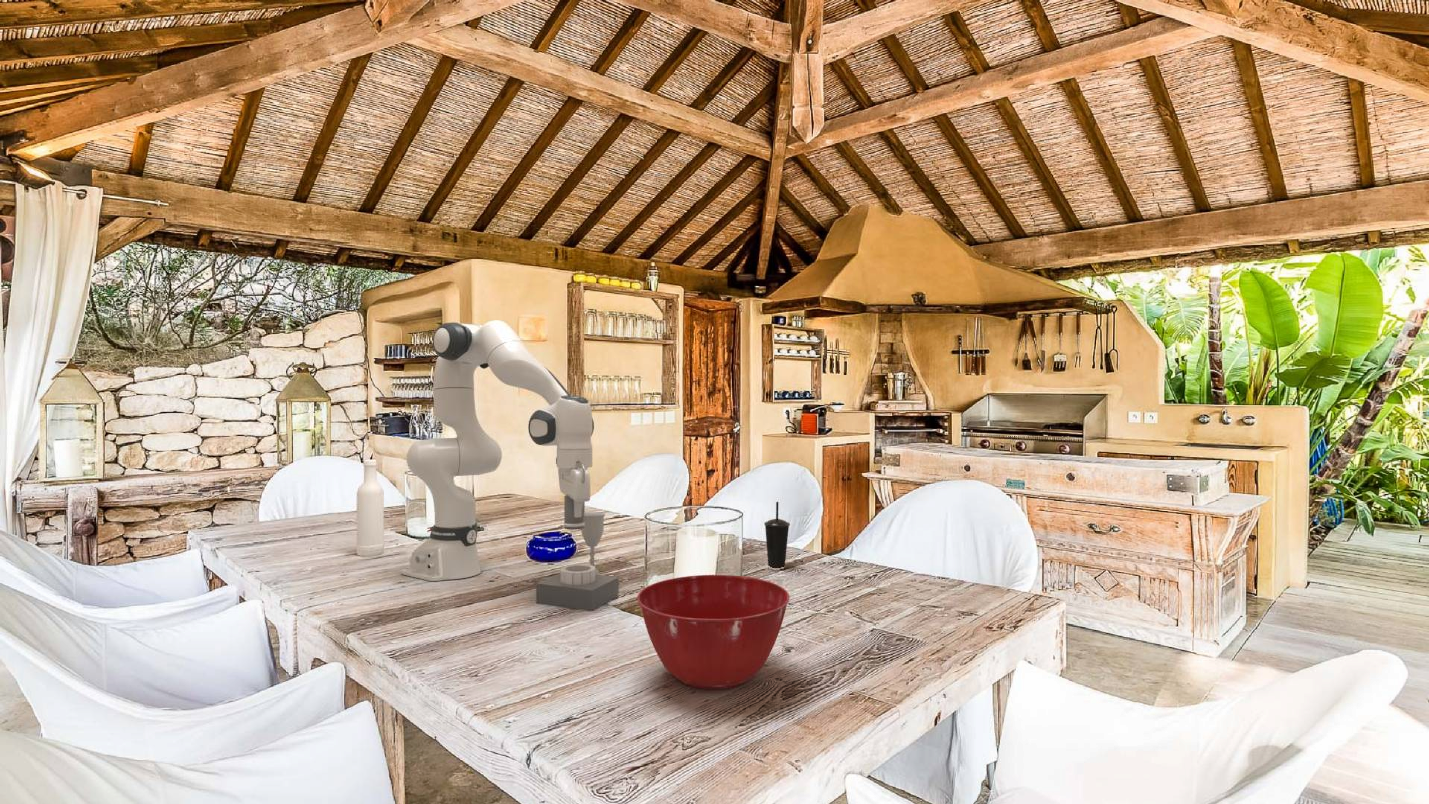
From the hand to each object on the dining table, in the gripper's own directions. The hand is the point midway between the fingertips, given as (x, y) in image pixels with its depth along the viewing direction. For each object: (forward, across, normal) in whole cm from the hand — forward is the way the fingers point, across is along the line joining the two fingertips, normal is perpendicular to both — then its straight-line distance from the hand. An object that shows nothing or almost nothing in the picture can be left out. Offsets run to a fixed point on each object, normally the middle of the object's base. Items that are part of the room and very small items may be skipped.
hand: (574, 515), depth 181 cm
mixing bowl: (+23, -56, -14) cm, 62 cm away
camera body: (+22, 0, -1) cm, 22 cm away
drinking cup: (+22, +11, -63) cm, 68 cm away
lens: (+3, 0, 0) cm, 3 cm away
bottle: (+21, +74, +50) cm, 92 cm away
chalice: (+22, +20, -9) cm, 31 cm away
